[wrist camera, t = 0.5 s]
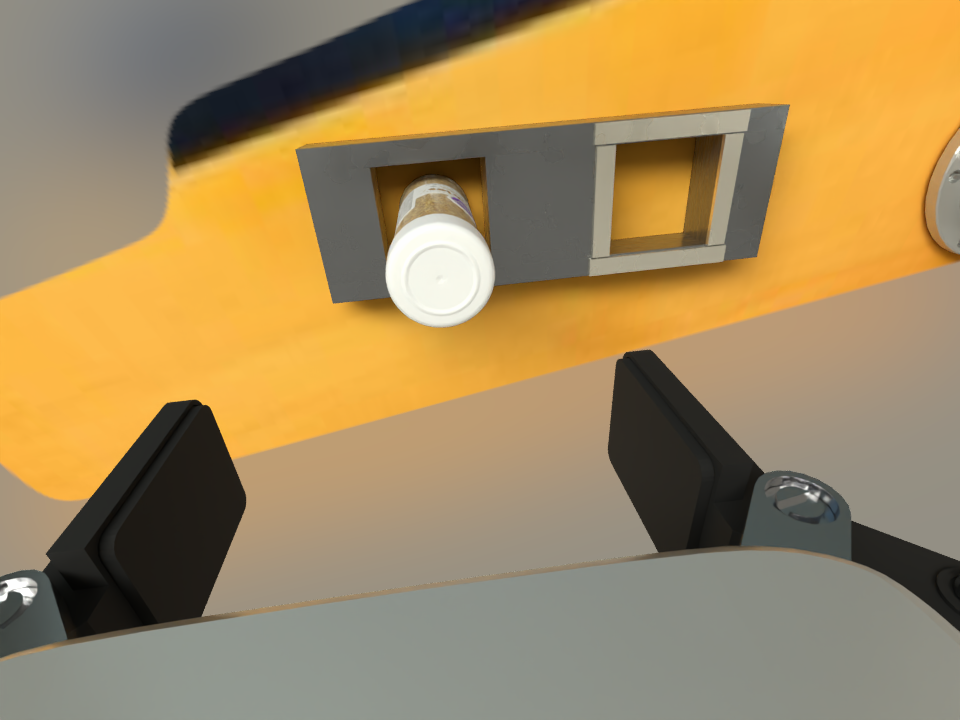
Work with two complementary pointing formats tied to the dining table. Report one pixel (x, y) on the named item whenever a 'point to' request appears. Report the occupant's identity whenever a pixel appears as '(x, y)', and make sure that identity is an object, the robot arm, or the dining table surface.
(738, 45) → the dining table surface
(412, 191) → the sprinkles bottle
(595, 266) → the rail
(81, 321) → the dining table surface
